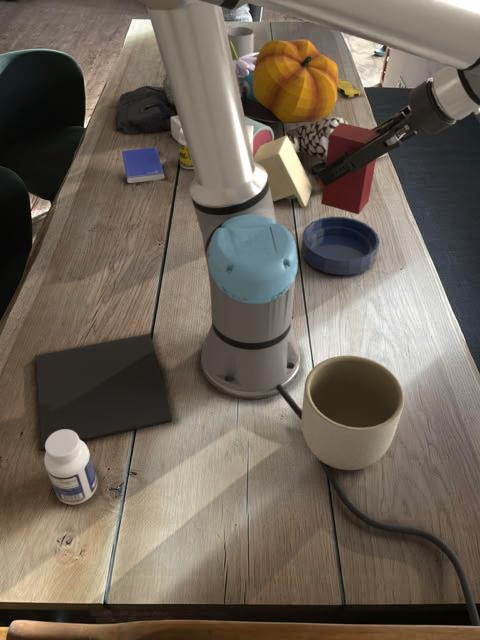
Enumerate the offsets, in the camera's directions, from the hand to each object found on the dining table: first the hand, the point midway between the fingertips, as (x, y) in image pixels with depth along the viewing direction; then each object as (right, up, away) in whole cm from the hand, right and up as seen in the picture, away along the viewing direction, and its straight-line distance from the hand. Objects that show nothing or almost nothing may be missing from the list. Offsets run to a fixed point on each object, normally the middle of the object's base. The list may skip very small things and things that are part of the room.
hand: (328, 171), depth 106 cm
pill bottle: (-36, -47, -27) cm, 65 cm away
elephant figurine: (-5, +10, +35) cm, 37 cm away
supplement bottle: (-27, +10, +35) cm, 45 cm away
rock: (-26, +40, +51) cm, 70 cm away
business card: (-18, +29, +36) cm, 49 cm away
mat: (-36, -36, -14) cm, 53 cm away
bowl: (+3, -13, +10) cm, 17 cm away
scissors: (+19, +14, +38) cm, 45 cm away
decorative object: (-7, +28, +54) cm, 61 cm away
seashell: (+1, +20, +34) cm, 39 cm away
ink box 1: (-20, +23, +45) cm, 55 cm away
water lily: (-18, +45, +48) cm, 68 cm away
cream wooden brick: (-10, +9, +19) cm, 23 cm away
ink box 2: (-15, +4, +29) cm, 33 cm away
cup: (-16, +51, +79) cm, 95 cm away
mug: (-19, +18, +35) cm, 44 cm away
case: (+3, -5, +2) cm, 6 cm away
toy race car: (-21, +27, +43) cm, 55 cm away
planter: (-1, -43, -21) cm, 48 cm away
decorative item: (+12, +39, +66) cm, 77 cm away
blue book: (-36, +5, +29) cm, 46 cm away
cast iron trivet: (-40, +28, +54) cm, 73 cm away
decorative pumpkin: (-4, +27, +42) cm, 50 cm away
